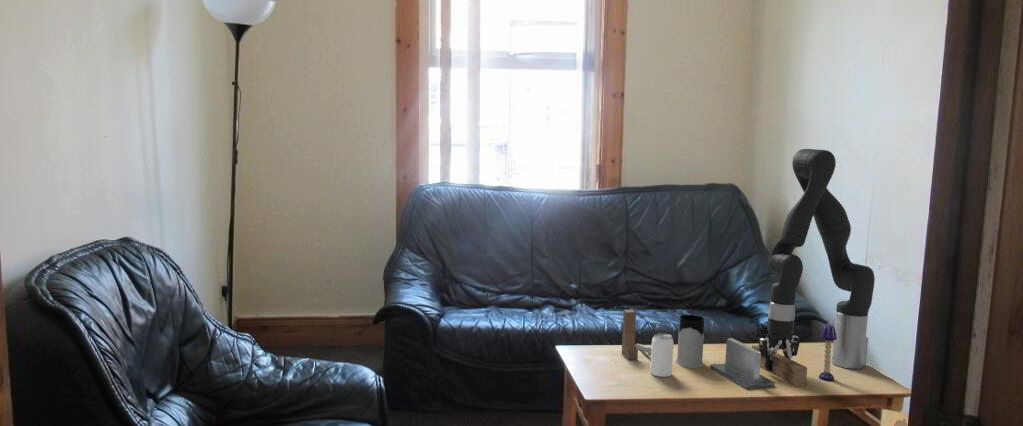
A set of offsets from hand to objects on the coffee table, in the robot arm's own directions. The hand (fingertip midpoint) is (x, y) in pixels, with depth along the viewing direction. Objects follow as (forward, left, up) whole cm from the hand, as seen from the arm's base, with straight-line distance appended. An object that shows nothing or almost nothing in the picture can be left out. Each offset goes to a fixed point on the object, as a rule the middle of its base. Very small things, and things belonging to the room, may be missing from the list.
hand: (777, 369), depth 210 cm
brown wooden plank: (0, 0, -2) cm, 2 cm away
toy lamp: (-12, +7, -1) cm, 14 cm away
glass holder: (+20, -17, -1) cm, 26 cm away
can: (+36, -8, -1) cm, 37 cm away
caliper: (+32, -25, -2) cm, 41 cm away
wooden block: (+38, -25, -1) cm, 46 cm away
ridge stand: (+13, 0, -1) cm, 13 cm away
